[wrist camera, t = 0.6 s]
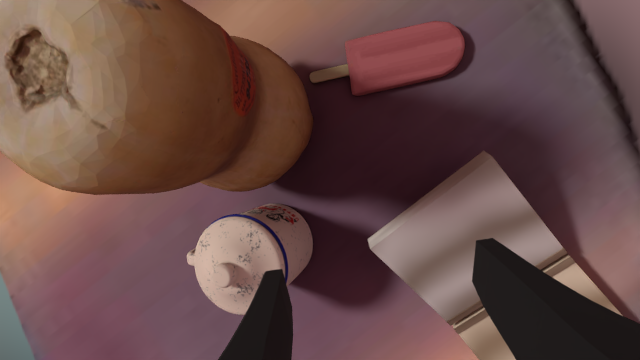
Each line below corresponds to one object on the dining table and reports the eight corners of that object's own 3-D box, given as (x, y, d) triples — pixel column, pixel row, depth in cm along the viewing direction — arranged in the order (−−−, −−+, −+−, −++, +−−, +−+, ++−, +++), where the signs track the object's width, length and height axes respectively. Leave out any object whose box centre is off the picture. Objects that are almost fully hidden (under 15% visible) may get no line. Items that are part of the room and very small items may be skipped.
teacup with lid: (312, 198, 38) (266, 219, 26) (320, 280, 38) (278, 335, 27) (215, 204, 41) (138, 224, 30) (223, 279, 41) (151, 327, 30)
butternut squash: (340, 166, 36) (187, 199, 12) (231, 196, 40) (-46, 266, 16) (305, 37, 36) (82, -180, 12) (199, 80, 40) (-128, -21, 16)
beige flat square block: (556, 242, 31) (567, 253, 30) (445, 313, 34) (451, 326, 33) (483, 150, 27) (493, 157, 26) (367, 239, 31) (370, 249, 29)
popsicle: (303, 50, 35) (461, 11, 31) (308, 54, 37) (459, 17, 32) (311, 103, 35) (468, 71, 31) (315, 105, 37) (466, 75, 33)
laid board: (626, 323, 30) (637, 332, 29) (507, 387, 34) (511, 399, 32) (562, 250, 31) (569, 256, 30) (451, 320, 35) (453, 328, 33)
